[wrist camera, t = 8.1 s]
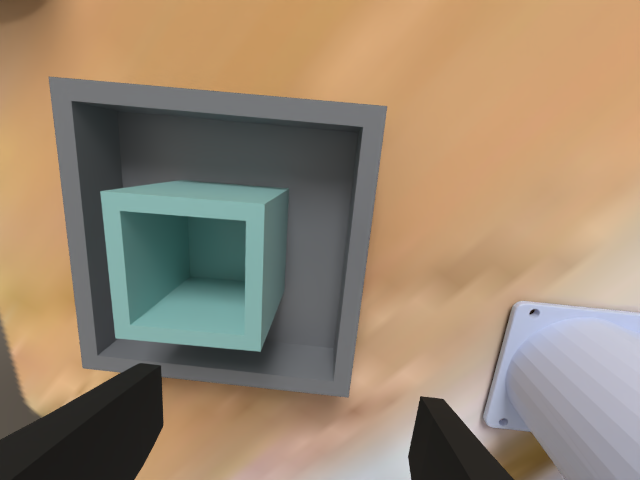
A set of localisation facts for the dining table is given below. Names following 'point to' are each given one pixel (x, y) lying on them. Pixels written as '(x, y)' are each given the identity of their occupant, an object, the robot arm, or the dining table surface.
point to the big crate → (230, 168)
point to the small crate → (196, 262)
